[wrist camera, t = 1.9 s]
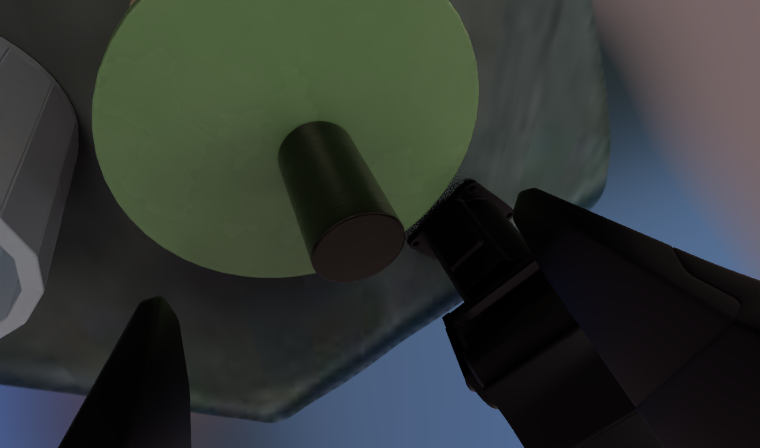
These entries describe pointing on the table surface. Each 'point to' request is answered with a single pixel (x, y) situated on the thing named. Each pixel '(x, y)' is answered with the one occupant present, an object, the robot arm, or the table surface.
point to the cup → (30, 179)
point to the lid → (284, 128)
